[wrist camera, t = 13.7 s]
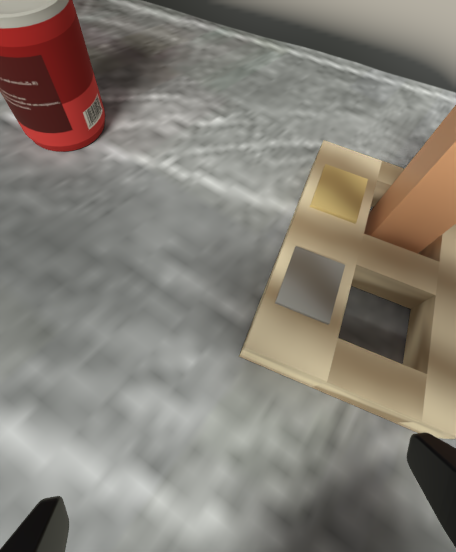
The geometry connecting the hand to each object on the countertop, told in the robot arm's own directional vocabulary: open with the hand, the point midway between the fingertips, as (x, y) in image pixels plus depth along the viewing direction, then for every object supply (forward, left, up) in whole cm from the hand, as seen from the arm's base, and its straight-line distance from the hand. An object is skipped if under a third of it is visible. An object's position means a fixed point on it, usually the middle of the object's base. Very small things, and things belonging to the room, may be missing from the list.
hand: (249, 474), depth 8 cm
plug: (+6, -21, -14) cm, 26 cm away
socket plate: (+4, -17, -14) cm, 22 cm away
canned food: (+32, -2, -14) cm, 35 cm away
